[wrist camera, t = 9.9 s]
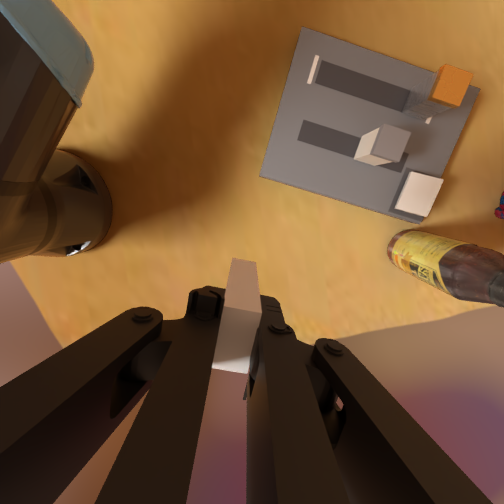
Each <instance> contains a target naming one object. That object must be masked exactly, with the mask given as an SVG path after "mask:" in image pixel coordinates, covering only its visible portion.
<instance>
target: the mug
mask: <svg viewBox="0 0 504 504" xmlns="http://www.w3.org/2000/svg"><path fill="white" fill-rule="evenodd" d="M495 216H496V217H498V218H501V219H504V192H503V194H502V196H501V200H500V207H498V208H496V209H495Z"/></svg>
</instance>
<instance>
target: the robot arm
mask: <svg viewBox="0 0 504 504" xmlns="http://www.w3.org/2000/svg"><path fill="white" fill-rule="evenodd" d="M93 70H94V59H93V55H92V52H91V50H90V48H89V46H88V44H87V42H86V41H85V39H84V38H83V36H82V35H81V34H80V33H79V31H78V30H77V29H76V28H75V26H74V25H73V24H72V23H71V22H70V21H69V19H68V18H67V17H66V16H65V15H64V14H63V12H62V11H61V10H60V9H59V8H58V7H57V6H56V5H55V4H54V3H53V2H52V1H51V0H0V264H1V263H4V262H7V261H11V260H14V259H17V258H21V257H24V256H28V255H34V256H50V257H65V256H72V255H75V254H78V253H81V252H84V251H87V250H89V249H91V248H93V247H94V246H96V245H97V244H98V243H99V242H100V241H101V240H102V239H103V238H104V236H105V235H106V233H107V231H108V229H109V227H110V224H111V219H112V202H111V197H110V194H109V191H108V189H107V186H106V184H105V183H104V181H103V179H102V178H101V176H100V175H99V174H98V173H97V171H96V170H95V169H94V168H93V167H92V166H91V165H90V164H88V163H87V162H86V161H84V160H83V159H81V158H80V157H78V156H76V155H74V154H71V153H68V152H65V151H61V150H56V147H57V145H58V144H59V142H60V140H61V138H62V136H63V134H64V132H65V131H66V129H67V127H68V125H69V123H70V121H71V119H72V118H73V116H74V114H75V112H76V110H77V108H80V107H81V106H82V102H81V99H82V97H83V94H84V92H85V89H86V87H87V85H88V83H89V80H90V78H91V76H92V73H93ZM249 364H250V373H249V377H248V381H247V385H246V389H245V393H244V397H243V400H246V397H247V473H246V476H247V477H246V478H247V479H246V482H247V483H246V486H247V487H246V504H493V503H492V502H491V501H490V500H489V499H488V498H487V497H486V496H485V495H484V494H483V493H482V491H481V490H480V489H479V488H478V487H477V486H476V485H475V484H474V483H473V482H472V481H471V480H470V479H469V478H468V476H466V474H465V473H464V472H463V471H462V470H461V469H460V468H459V467H458V466H457V465H456V464H455V463H454V462H453V461H452V460H451V458H450V457H449V456H448V455H447V454H446V453H445V452H444V451H443V450H442V449H441V448H440V447H439V445H437V443H436V442H435V441H434V440H433V439H432V438H431V437H430V436H429V435H428V434H427V433H426V432H425V431H424V430H423V428H422V427H421V426H420V425H419V424H418V423H417V422H416V421H415V420H414V419H413V418H412V417H411V416H410V415H409V413H408V412H407V411H406V410H405V409H404V408H403V407H402V406H401V405H400V404H399V403H398V402H397V401H396V400H395V398H394V397H393V396H392V395H391V394H390V393H389V392H388V391H387V390H386V389H385V388H384V387H383V386H382V385H381V384H380V382H379V381H378V380H377V379H376V378H375V377H374V376H373V375H372V374H371V373H370V372H369V371H368V370H367V369H366V367H365V366H364V365H363V364H362V363H361V362H360V361H359V360H358V359H357V358H356V357H355V356H354V355H353V354H352V353H351V351H350V350H349V349H347V348H346V347H345V346H344V345H342V344H340V343H339V342H338V341H336V340H333V339H327V338H320V339H318V340H316V342H315V345H314V346H311V345H309V344H306V343H303V342H301V341H299V340H297V338H296V335H295V332H294V331H293V329H292V328H291V327H290V326H289V325H287V324H285V321H284V317H283V314H282V310H281V307H280V303H279V302H278V301H277V300H276V299H275V298H274V297H269V296H264V295H260V292H259V284H258V276H257V267H256V262H251V261H246V260H241V259H236V258H232V262H231V267H230V272H229V277H228V282H227V287H226V289H223V288H218V287H212V286H205V287H203V288H199V289H194V290H192V291H191V292H190V293H189V298H188V304H187V310H186V314H185V316H184V318H181V319H177V320H163V314H162V313H161V312H160V311H158V310H156V309H154V308H149V307H137V308H132V309H129V310H127V311H125V312H123V313H122V314H120V315H118V316H117V317H115V318H113V319H112V320H110V321H108V322H107V323H105V324H103V325H102V326H100V327H99V328H97V329H95V330H94V331H92V332H90V333H89V334H87V335H85V336H84V337H82V338H80V339H79V340H77V341H75V342H74V343H72V344H71V345H69V346H67V347H66V348H64V349H62V350H61V351H59V352H57V353H56V354H54V355H52V356H51V357H49V358H47V359H46V360H44V361H43V362H41V363H39V364H38V365H36V366H34V367H33V368H31V369H29V370H28V371H26V372H24V373H23V374H21V375H19V376H18V377H16V378H15V379H13V380H12V381H10V382H8V383H6V384H5V385H3V386H1V387H0V504H53V503H54V502H55V501H56V499H57V498H58V497H59V496H60V495H61V493H62V492H63V491H64V490H65V489H66V487H67V486H68V485H69V484H70V483H71V481H72V480H73V479H74V478H75V477H76V476H77V474H78V473H79V472H80V470H82V468H83V467H84V466H85V465H86V464H87V462H88V461H89V460H90V459H91V458H92V456H93V455H94V454H95V453H96V452H97V451H98V449H99V448H100V447H101V446H102V445H103V443H104V442H105V441H106V440H107V439H108V437H109V436H110V435H111V434H112V433H113V432H114V430H115V429H116V428H117V427H118V426H119V424H120V423H121V422H122V421H123V420H124V418H125V417H126V416H127V415H128V414H129V412H130V411H131V410H132V409H133V408H134V407H135V405H136V404H137V403H138V402H139V401H140V399H141V398H142V397H143V396H144V395H145V393H146V392H147V391H148V390H149V392H148V393H147V395H146V398H145V399H144V402H143V404H142V406H141V408H140V410H139V412H138V414H137V416H136V418H135V420H134V422H133V425H132V427H131V429H130V431H129V433H128V435H127V437H126V439H125V441H124V444H123V445H122V447H121V450H120V452H119V454H118V456H117V458H116V460H115V462H114V464H113V466H112V469H111V471H110V472H109V475H108V477H107V479H106V481H105V483H104V485H103V487H102V489H101V491H100V493H99V495H98V498H97V500H96V502H95V504H186V500H187V495H188V490H189V484H190V479H191V474H192V469H193V464H194V458H195V453H196V447H197V442H198V437H199V432H200V427H201V422H202V416H203V411H204V406H205V400H206V395H207V390H208V385H209V379H210V375H211V369H212V368H215V369H221V370H228V371H234V372H240V373H245V374H247V372H248V368H249ZM338 396H339V398H340V399H341V401H342V402H343V404H344V405H343V408H342V410H341V409H340V408H339V407H338V405H337V403H336V401H337V399H338Z"/></svg>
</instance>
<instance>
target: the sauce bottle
mask: <svg viewBox="0 0 504 504" xmlns="http://www.w3.org/2000/svg"><path fill="white" fill-rule="evenodd" d="M387 253H388V257H389V259H390V260H391V262H392V263H393V264H394V265H395V266H397V267H398V268H399V269H401V270H403V271H405V272H407V273H409V274H411V275H412V276H414V277H416V278H418V279H420V280H422V281H424V282H426V283H428V284H430V285H432V286H433V287H435V288H437V289H439V290H441V291H443V292H445V293H447V294H449V295H451V296H453V297H455V298H457V299H459V300H465V301H472V302H481V303H489V304H496V305H497V306H499V307H504V255H503V254H502V253H499V252H496V251H494V250H492V249H487V248H482V247H478V246H477V245H474V244H471V243H467V242H463V241H459V240H454V239H450V238H446V237H443V236H438V235H434V234H430V233H426V232H422V231H413V230H408V231H402V232H400V233H398V234H396V235H395V236H394V237H393V238H392V240H391V241H390V243H389V245H388V250H387Z"/></svg>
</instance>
